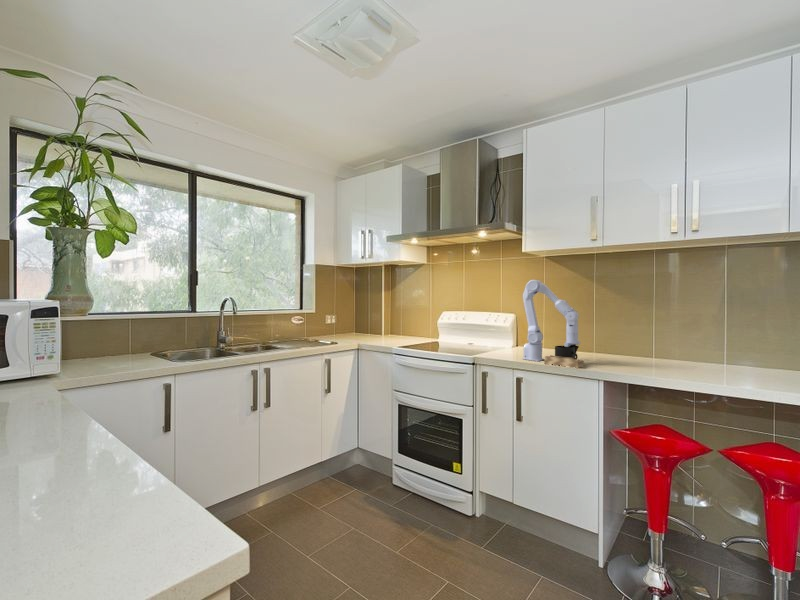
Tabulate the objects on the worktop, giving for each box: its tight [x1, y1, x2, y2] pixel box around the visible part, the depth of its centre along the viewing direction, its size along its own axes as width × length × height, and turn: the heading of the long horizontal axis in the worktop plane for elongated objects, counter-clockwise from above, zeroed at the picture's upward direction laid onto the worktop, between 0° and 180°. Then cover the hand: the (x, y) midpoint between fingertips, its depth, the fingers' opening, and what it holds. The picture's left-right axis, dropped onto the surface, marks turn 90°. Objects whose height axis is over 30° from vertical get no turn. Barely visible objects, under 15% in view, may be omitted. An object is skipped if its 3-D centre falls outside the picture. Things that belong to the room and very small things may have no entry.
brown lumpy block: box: [544, 354, 584, 369], centre depth 203 cm, size 17×7×5 cm, turn 43°
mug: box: [554, 345, 578, 360], centre depth 205 cm, size 9×12×9 cm
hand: (572, 359), depth 210 cm, fingers closed
